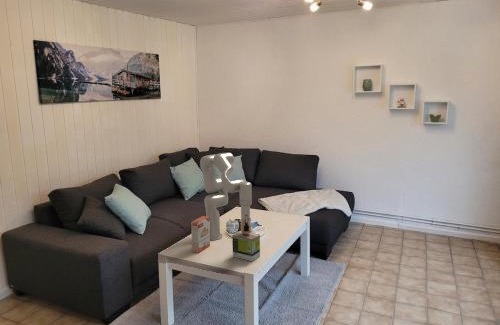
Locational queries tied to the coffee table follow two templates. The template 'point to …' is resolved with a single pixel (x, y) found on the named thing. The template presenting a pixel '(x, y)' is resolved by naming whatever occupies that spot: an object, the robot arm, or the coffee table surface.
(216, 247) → the coffee table surface
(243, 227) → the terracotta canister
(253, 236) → the tea box
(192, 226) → the cracker box
